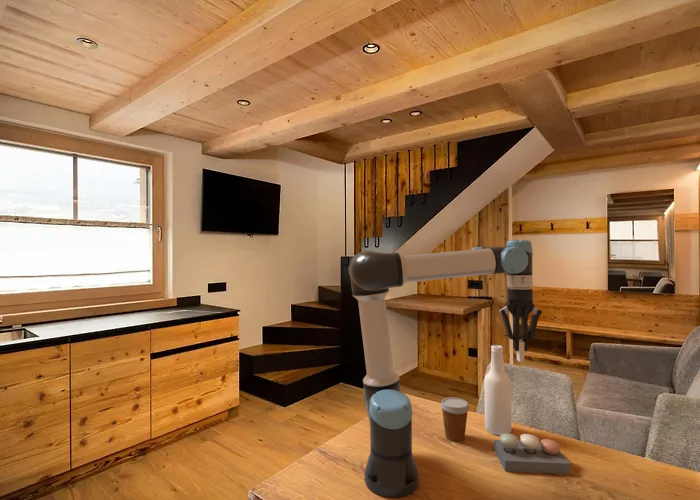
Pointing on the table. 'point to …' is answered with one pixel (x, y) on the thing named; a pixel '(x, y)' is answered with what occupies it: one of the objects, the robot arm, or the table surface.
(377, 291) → the robot arm
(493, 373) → the alcohol
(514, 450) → the button board
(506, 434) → the sage button
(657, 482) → the table surface
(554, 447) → the terracotta button
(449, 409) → the disposable coffee cup
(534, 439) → the ivory button
